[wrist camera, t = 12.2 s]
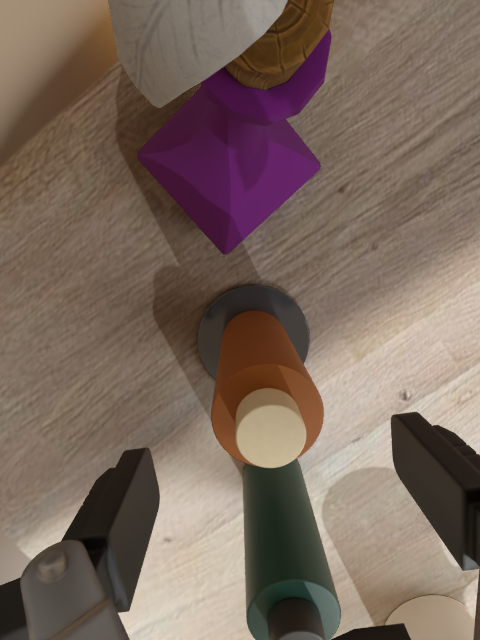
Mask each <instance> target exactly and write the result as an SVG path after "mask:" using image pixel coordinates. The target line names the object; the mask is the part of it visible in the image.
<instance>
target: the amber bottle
mask: <svg viewBox="0 0 480 640" xmlns="http://www.w3.org/2000/svg"><path fill="white" fill-rule="evenodd" d="M323 418H324V409H323V403H322V399H321V396H320V394H319V392H318V390H317V388H316V386H315V385H314V383H313V381H312V379H311V377H310V375H309V374H308V372H307V370H306V368H305V366H304V364H303V363H302V361H301V359H300V357H299V355H298V353H297V352H296V350H295V348H294V346H293V344H292V342H291V341H290V339H289V337H288V335H287V333H286V331H285V330H284V328H283V326H282V325H281V323H280V322H279V321H278V320H277V319H276V318H275V317H274V316H272V315H271V314H268V313H266V312H263V311H247V312H243V313H241V314H239V315H237V316H236V317H234V318H233V319H232V320H231V321H230V322H229V323H228V325H227V326H226V328H225V330H224V332H223V336H222V342H221V349H220V356H219V363H218V369H217V376H216V383H215V389H214V396H213V403H212V410H211V421H212V427H213V431H214V433H215V436H216V438H217V440H218V441H219V443H220V444H221V445H222V447H223V448H224V449H225V450H226V451H227V452H228V453H229V454H230V455H232V456H233V457H234V458H236V459H238V460H240V461H242V462H244V463H247V464H250V465H254V466H260V467H265V468H276V467H281V466H284V465H286V464H288V463H290V462H292V461H293V460H295V459H297V458H298V457H300V456H301V455H303V454H304V453H305V452H306V451H307V450H308V449H309V448H310V447H311V446H312V445H313V444H314V442H315V441H316V439H317V437H318V436H319V433H320V431H321V428H322V424H323Z"/></svg>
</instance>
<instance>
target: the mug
mask: <svg viewBox="0 0 480 640" xmlns="http://www.w3.org/2000/svg"><path fill="white" fill-rule="evenodd" d="M400 623H404V625H405V627H406V629H407V632H408V634H409V636H410V638H411V640H473V638H474V626H475V620H474V618H473V617H472V615H471V614H470V612H469V611H468V609H467V608H466V607H465V606H464V605H463V604H462V603H460V602H459V601H457V600H455V599H453V598H450V597H446V596H441V595H427V596H421V597H417V598H414V599H412V600H409V601H407V602H405V603H404V604H402V605H401V606H399V607H398V608H397V609H396V610H394V611H393V612H392V614H391V615H390V616H389V618H388V619H387V621H386V623H385V625H392V624H400Z"/></svg>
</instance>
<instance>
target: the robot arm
mask: <svg viewBox="0 0 480 640" xmlns="http://www.w3.org/2000/svg"><path fill="white" fill-rule="evenodd" d="M391 435H392V454H393V462H394V466H395V469H396V472H397V474H398V476H399V478H400V480H401V481H402V483H403V484H404V485H405V487H406V488H407V490H408V491H409V493H410V494H411V496H412V497H413V499H414V500H415V501H416V503H417V504H418V506H419V507H420V509H421V510H422V512H423V513H424V515H425V516H426V518H427V519H428V520H429V522H430V523H431V525H432V526H433V528H434V529H435V531H436V532H437V534H438V535H439V537H440V538H441V539H442V541H443V542H444V544H445V545H446V547H447V548H448V550H449V551H450V553H451V554H452V556H453V557H454V558H455V560H456V561H457V563H458V564H459V566H460V567H461V569H462V570H463V571H465V570H473V569H480V455H479V454H476V452H475V451H474V450H473V449H472V448H471V447H470V446H469V445H466V443H465V442H464V441H463V440H462V439H461V438H460V437H458V436H457V435H456V434H455V433H454V432H451V431H449V430H447V429H445V428H443V427H441V426H439V425H434V426H432V425H431V424H430V423H429V422H428V421H427V420H426V419H424V418H423V417H422V416H421V415H420V414H419V413H418V412H410V413H403V414H396V415H392V417H391ZM159 501H160V494H159V486H158V482H157V477H156V473H155V469H154V464H153V460H152V455H151V452H150V449H149V448H139V449H132V450H126V451H124V452H123V454H122V456H121V458H120V460H119V462H118V464H117V465H116V467H115V468H109V469H108V470H107V471H106V472H105V473H104V474H102V475H101V476H100V477H99V478H98V479H97V480H96V482H95V483H94V485H93V487H92V489H91V490H90V492H89V495H88V496H87V497H86V499H85V501H84V502H83V506H81V508H80V509H79V511H78V513H77V515H76V516H75V518H74V520H73V521H72V523H71V525H70V527H69V528H68V530H67V532H66V534H65V535H64V537H63V539H62V541H61V542H59V543H56V544H54V545H52V546H50V547H48V548H46V549H45V550H43V551H42V552H40V553H39V554H38V555H37V556H36V557H34V558H33V559H32V561H31V562H30V563H29V564H28V565H27V567H26V568H25V570H24V571H23V574H22V576H21V578H18V579H16V580H13V581H11V582H8V583H6V584H3V585H0V640H130V639H129V637H128V635H127V633H126V631H125V628H124V626H123V624H122V622H121V619H120V617H119V615H118V613H119V612H127V611H129V610H130V607H131V603H132V600H133V596H134V593H135V589H136V586H137V582H138V579H139V575H140V572H141V568H142V565H143V561H144V558H145V554H146V551H147V547H148V544H149V540H150V537H151V533H152V530H153V526H154V523H155V519H156V516H157V512H158V509H159ZM331 640H411V638H410V636H409V634H408V632H407V629H406V627H405V625H404V623H400V624H392V625H384V626H376V627H368V628H359V629H353V630H351V631H349V632H347V633H345V634H342V635H340V636H338V637H336V638H334V639H331ZM473 640H480V570H479V582H478V593H477V604H476V615H475V626H474V638H473Z"/></svg>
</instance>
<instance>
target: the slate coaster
mask: <svg viewBox="0 0 480 640" xmlns="http://www.w3.org/2000/svg"><path fill="white" fill-rule="evenodd" d="M247 311H263V312H266V313H268V314H271V315H272V316H274V317H275V318H276V319H277V320H278V321H279V322H280V323H281V325H282V326H283V328H284V330H285V331H286V333H287V335H288V337H289V339H290V341H291V342H292V344H293V346H294V348H295V350H296V352H297V353H298V355H299V357H300V359H301V361H302V363H303V364H304V362H305V360H306V357H307V354H308V350H309V343H310V334H309V328H308V324H307V321H306V319H305V316H304V314H303V313H302V311H301V310H300V308H299V307H298V306H297V304H296V303H295V302H294V301H293V300H292V299H291V298H289V297H288V296H287V295H285V294H284V293H282V292H280V291H278V290H276V289H274V288H270V287H267V286H261V285H246V286H241V287H237V288H234V289H232V290H229V291H228V292H226V293H224V294H222V295H221V296H220V297H218V298H217V299H216V300H215V301H214V302H213V303H212V304H211V305H210V306H209V307H208V309H207V310H206V312H205V314H204V316H203V318H202V320H201V322H200V326H199V330H198V338H197V344H198V351H199V355H200V358H201V360H202V363H203V365H204V366H205V368H206V370H207V371H208V372H209V374H210V375H211V376H212V377H213V378H214V379H215V380H216V376H217V369H218V363H219V356H220V349H221V342H222V336H223V332H224V330H225V328H226V326H227V325H228V323H229V322H230V321H231V320H232V319H233V318H234V317H236V316H237V315H239V314H241V313H243V312H247Z"/></svg>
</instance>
